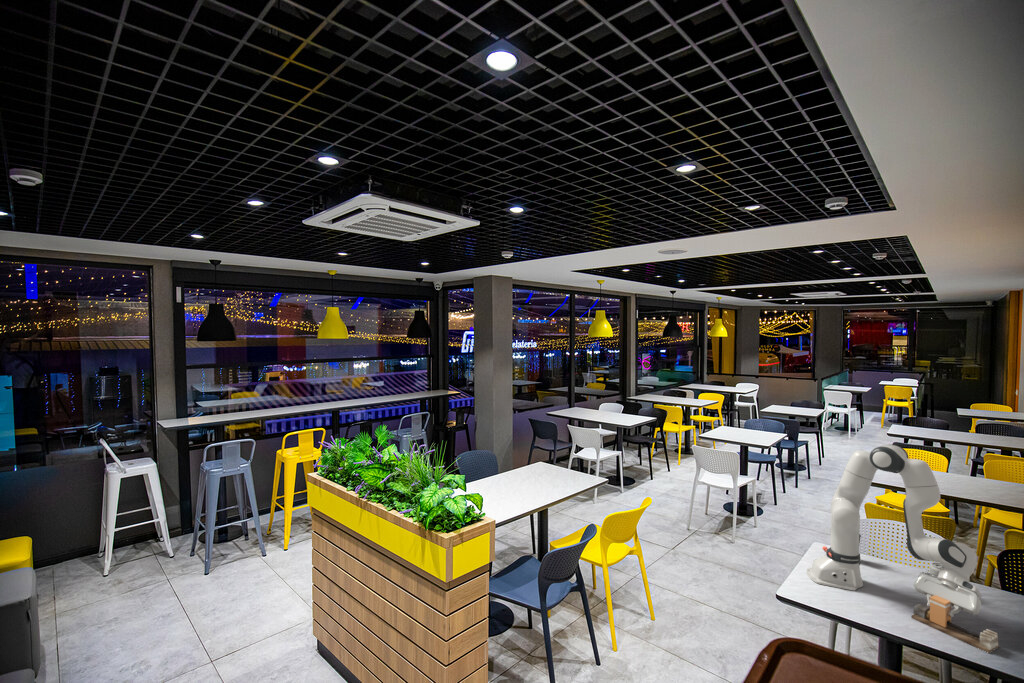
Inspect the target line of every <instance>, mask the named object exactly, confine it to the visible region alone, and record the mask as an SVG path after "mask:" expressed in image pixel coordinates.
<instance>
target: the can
mask: <svg viewBox="0 0 1024 683" xmlns="http://www.w3.org/2000/svg"><path fill="white" fill-rule="evenodd" d="M942 567H943V565H942V564H941V563H940V562H934V561H932V562H931V563H930V565H929V573H930V574H933V575H936V576H938V574H939V572H940V570H941V568H942Z"/></svg>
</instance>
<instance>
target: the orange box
mask: <svg viewBox="0 0 1024 683" xmlns="http://www.w3.org/2000/svg"><path fill="white" fill-rule="evenodd" d="M950 602H951V601H949V600H946V599H944V598H941V597H939V596H936V595H934V596H932V597H930V607H929V608H930V621H932V622H934V623H936V624H938V625H941V626H943V627H945V628H946V627H947V621H949V622H951V623H952V617H951V616H948V615H947V612H948V610H950V611H951V610H952V606H951V603H950Z"/></svg>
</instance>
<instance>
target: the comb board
mask: <svg viewBox="0 0 1024 683" xmlns="http://www.w3.org/2000/svg"><path fill="white" fill-rule="evenodd" d="M910 617H911V619H913V620H915V621H918V622H919V623H921V624H924V625H926V626H928V627H931V629H934V630H936V631H939V632H941V633H943V634H945V635H947V636H949V637H952V638H954V639H956V640H958V641H961V642H963V643H965V644H968V645H969V646H972V647H974V648H976V649H978V648H979V649H978V650H980V649H981V650H980V651H982V650H984V651H986V652H985V653H987V652H988V653H987V654H991V653H992V652H994V651H995V650H994V649H996V648H997V649H999V648H1000V644H999V635H998V634H999V633H997V632H995V631H994V630H990V629H988V628H986V629H985V630H982V631H981V632H980V633H976V632H974V631H971V630H969V629H967V628H964V627H962V626H960V625H958V624H957V623H956V624H955V623H953V622H952V621H951V622H949V621H947V627H946V628H945V627H943V626H941V625H938V624H936V623H934V622H932V621H930V607H928V606H927V605H924V604H921V603H918V604H915V605H914V606H913V614H912V615H911V616H910ZM998 647H999V648H998ZM997 649H996V650H997ZM993 650H994V651H993ZM984 651H983V652H984ZM991 651H992V652H991ZM990 652H991V653H990Z"/></svg>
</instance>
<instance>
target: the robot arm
mask: <svg viewBox="0 0 1024 683" xmlns="http://www.w3.org/2000/svg"><path fill="white" fill-rule="evenodd" d="M878 470H880V471H883V472H887V473H892V474H899V476H900V477H901V479H902V481H903V484H904V488H905V498H904V499H903V502H902V504H903V506H902V509H903V515H904V522H905V529H906V536H907V537H906V548H907V550H908V552H909V553H910V554H911V556H912V557H914V559H917V560H919V561H927V562H929V561H930V562H938V563H941V564H942V565H943V567H942V568H941V570H940V572H939V574H938V576H936V575H933V574H930V572H929V571H928V572H927V571H925V572H924V571H922V572H920V573H919V574H918V578H917V579H916V580H915V582H914V583H913V587H914V589H915V590H916V592H917V593H920V594H922V595H925V596H926V600H927V603H926V607H928V608H930V597H932V596H934V595H936V596H939V597H941V598H944V599H946V600H949V601H951V602H950V603H951V607H953V609H951V611H950V610H948V612H947V615H948V616H951V618H954V616H955V615H957V614H958V613H960V612H961V611H964V612H966V613H969V614H971V615H973V616H977V615H979V614H980V612H981V608H982V600H981V599H982V597H983V596H982V592H981V591H980V590H979V588H978V587H977V586H975V585H974V584H972V583H971V582H970V577H971V575H972V574H973V573H974V571H975V568H976V565H977V561H978V555H977V553H976V551H975V550H974V549H972V548H971V546H968V545H966V544H964V543H961V542H954V541H952V540H950V539H947V538H941V537H931V536H927V535H926V534H925V531H924V527H923V520H922V515H923V514H922V513H923V512H924V511H926V510H928V509H930V508H932V507H934V506H936V505H937V504H938V503H939V502H940V500H941V491H940V488H939V486H938V482H937V479H936V477H935V475H934V472H933V471H932V469H931V467H930V466H929V463H927V462H926V461H924V460H921V459H917V458H909V454H908V452H907V451H906V450H905V449H904V448H903V447H902V446H900V445H897V444H883V445H880V446H877V447H875V448H873V449H872V450H871V452H869V451H866V450H861V449H860V450H855V451H854V452H853V453H852V454H851V456H850V457H849V459H848V461H847V462H846V465H845V467H844V471H843V473H842V475H841V479H840V482H839V484H838V486H837V488H836V490H835V492H834V495H833V496H832V500H831V502H830V547H829V548H828V547H827V546H825V545H824V546H822V550H823V551H824V552H825V555H822V556H820V557H819V558H817V559H815V560H813V562H812V565H811V567H808V568H806V574H807V576H808V577H809V579H810V580H811V581H813V582H815V583H816V584H819V585H822V586H823V585H824V586H827V587H833V588H838V589H844V590H850V591H856V590H858V589H859V588H862V587H863V586H864V582H863V579H862V574H861V568H860V566H861V561H862V560H861V553H860V544H859V534H860V532H861V530H860V528H861V514H860V509H861V507H862V504H863V502H864V500H865V498H866V496H867V495H868V493H869V490H870V488H871V486H872V484H873V480H874V477H875V474H876V473H877V471H878Z"/></svg>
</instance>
